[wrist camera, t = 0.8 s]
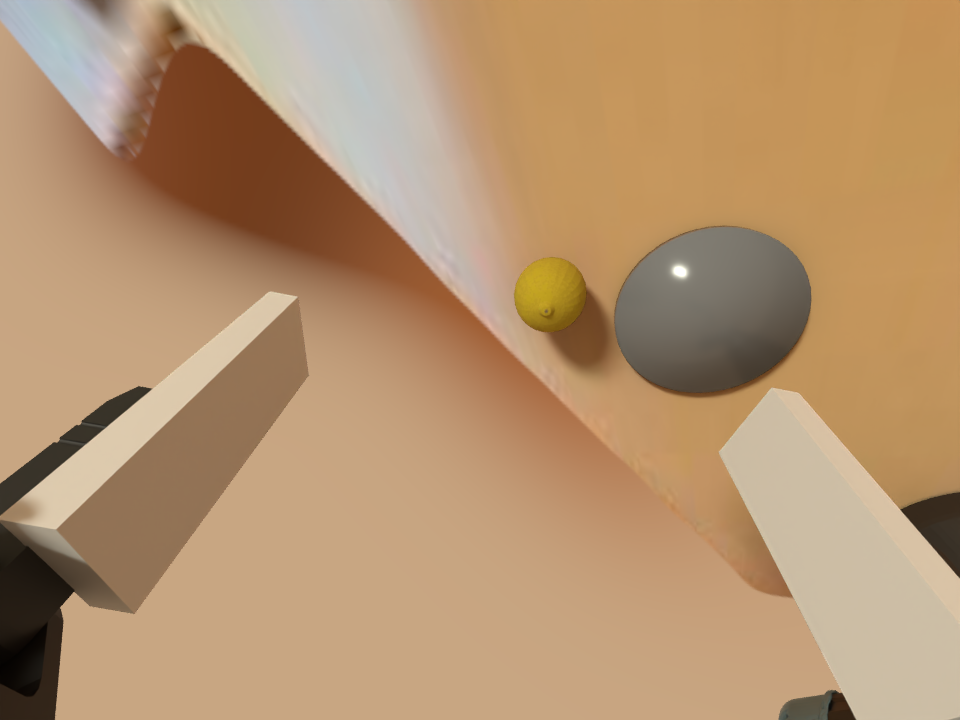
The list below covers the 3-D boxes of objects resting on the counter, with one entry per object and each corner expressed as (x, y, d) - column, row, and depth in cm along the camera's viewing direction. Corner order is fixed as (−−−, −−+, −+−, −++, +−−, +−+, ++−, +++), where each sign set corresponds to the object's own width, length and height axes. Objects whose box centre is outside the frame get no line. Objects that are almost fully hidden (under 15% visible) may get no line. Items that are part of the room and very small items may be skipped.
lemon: (574, 317, 35) (572, 356, 28) (515, 301, 35) (499, 335, 28) (595, 257, 32) (598, 283, 25) (530, 241, 33) (517, 262, 26)
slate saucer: (851, 286, 29) (859, 290, 28) (710, 412, 36) (714, 419, 35) (692, 189, 28) (696, 190, 28) (582, 336, 35) (582, 340, 34)
